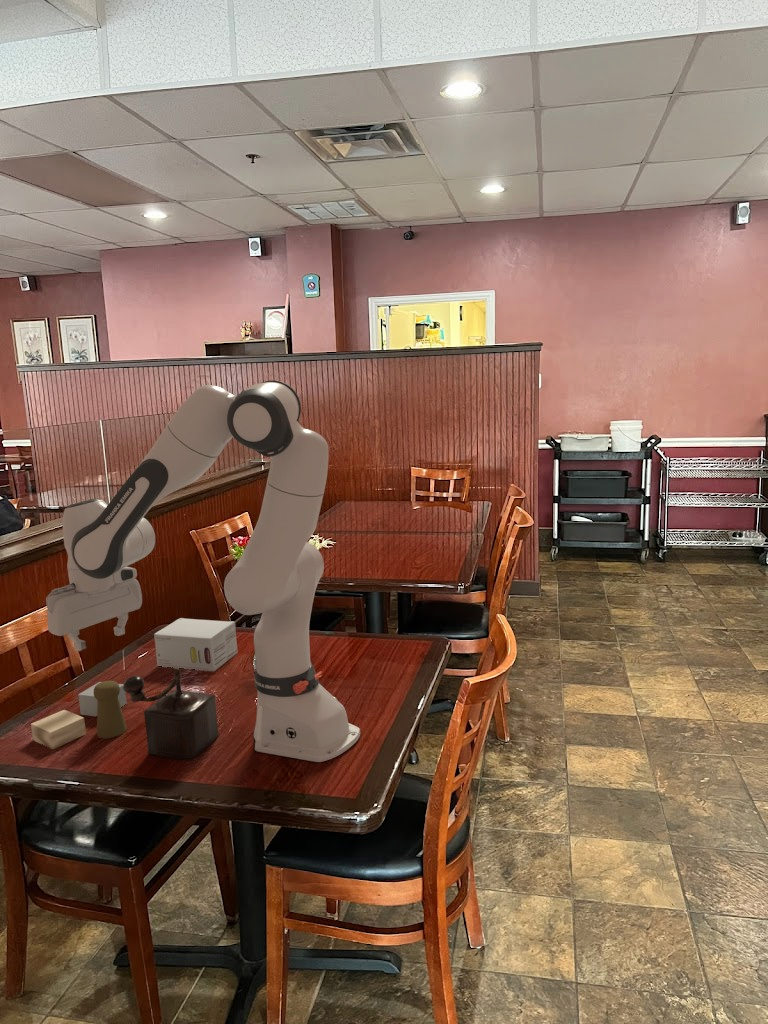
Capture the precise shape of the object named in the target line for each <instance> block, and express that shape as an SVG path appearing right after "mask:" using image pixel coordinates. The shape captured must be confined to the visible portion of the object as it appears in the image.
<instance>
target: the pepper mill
mask: <svg viewBox="0 0 768 1024" xmlns="http://www.w3.org/2000/svg"><path fill="white" fill-rule="evenodd" d="M173 673H174V676H173V680H172V682H170V684H169V685H168V687H166V688H165V689H164V690H163V691H161V692H160V693H159V694H156V695H154V696H146V693H145V692H144V691H143V688H144V686H145V680H144V678H143V677H142V676H138V675H133V676H130V677H128V678H127V679H125V680H124V682H123V684H124V686H123V689H124V691H125V693H128V694H129V695H130V698H129V701H131V702H132V703H135V702H137V703H138V702H149V703H150V702H154V703H153V704H151V705H150V706H148V708H146V709H144V710H143V714H144V715H143V716H144V722H145V733H146V741H147V754H150V755H153V756H156V757H158V758H159V757H161V758H165V759H172V760H173V759H174V760H179V761H180V760H181V761H192V760H194V759H195V758H197V757H198V756H199V755H200V754H201V753H203V752H204V751H205V750H206V749H207V748H208V747H209V746H210V745H211V744H212V743H213V742H215V740H216V739H217V738H218V737H219V733H220V732H219V728H218V727H219V726H218V717H217V704H216V696H215V694H213V693H212V694H210V693H204V692H203V693H202V692H194V691H187V690H182V687H181V685H182V684H181V680H182V674H181V673H182V672H181V669H179V668H174V670H173ZM175 687H176V688H175ZM174 688H175V689H174ZM171 690H172V691H171Z"/></svg>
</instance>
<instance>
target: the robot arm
mask: <svg viewBox="0 0 768 1024" xmlns="http://www.w3.org/2000/svg"><path fill="white" fill-rule="evenodd" d="M301 410H302V405H301V400H300V398H299V394H298V393H297V392H296V390H295V389H294V388H293V387H292V386H290V385H289V384H288V383H285V382H283V381H280V380H273V379H272V380H265V381H262V382H258V383H255V384H253V385H250V386H249V387H246V389H244V390H241V392H240V393H238V394H237V395H236V394H232V393H231V392H229V391H228V390H227V389H225V388H222V387H220V386H217V385H214V384H206V385H205V384H204V385H201V386H200V387H198V388H196V389H195V390H194V391H193V393H191V394H190V395H189V396H188V397H187V398H186V400H184V401H183V403H182V404H181V405H180V406H179V408H178V409H177V410H176V411H175V412H174V414H173V415H172V417H171V418H170V420H169V421H168V423H167V424H166V426H165V427H164V428H163V430H162V432H161V433H160V434H159V436H158V438H157V439H156V441H155V442H154V444H153V445H152V447H151V448H150V450H149V451H148V453H146V455H145V457H144V458H143V459H142V461H141V462H140V463H139V464H138V466H137V467H136V469H135V470H134V471H133V472H132V474H130V476H129V477H128V478H127V480H125V482H123V485H121V487H120V488H119V489H118V491H117V492H116V494H115V495H114V496H113V497H112V499H111V500H110V502H109V503H107V502H106V501H104V500H103V499H101V498H90V499H87V500H86V499H85V500H82V501H78V502H75V503H71V504H70V505H68V506H67V507H66V508H65V509H64V510H63V513H62V535H63V537H62V538H63V544H64V549H65V551H66V553H67V556H68V558H67V565H66V567H67V574H68V581H69V584H67V585H64V586H61V587H57V588H54V589H51V592H50V593H49V594H48V595H47V596H46V597H45V603H46V608H47V612H46V613H47V614H46V616H47V618H46V619H47V620H46V622H47V630H48V632H49V633H51V634H52V635H55V636H59V637H63V636H65V635H66V636H67V637H68V638H69V639H70V640H71V642H73V646H74V647H73V649H74V650H75V651H77V652H81V651H83V650H85V649H87V645H86V644H87V643H86V640H83V639H80V637H79V635H80V630H82V629H86V628H88V627H91V626H93V625H94V626H95V625H96V624H101V623H102V622H105V621H109V620H111V619H114V618H117V619H118V620H117V623H116V626H114V627H113V631H114V632H113V633H114V635H115V636H117V637H119V636H123V635H125V634H126V628H125V627H126V624H127V621H128V619H129V613H131V612H134V611H137V610H139V609H141V607H142V604H143V594H142V590H141V585H140V582H139V580H137V579H136V578H137V576H138V572H137V568H134V567H130V566H131V565H133V564H135V563H136V562H139V561H140V560H143V559H144V558H145V557H147V556H148V555H149V554H151V553H152V552H153V551H154V549H155V546H156V543H157V542H156V541H157V537H156V532H155V529H154V526H153V525H152V523H151V522H150V521H149V519H147V518H146V517H145V516H146V515H147V513H148V512H149V511H150V510H151V509H152V507H153V506H154V505H156V504H157V503H158V502H159V501H161V500H162V499H164V498H165V497H167V496H168V495H170V494H172V493H174V492H176V491H178V490H180V489H183V488H184V487H186V486H188V485H191V484H192V483H194V482H196V481H198V480H199V479H200V478H201V477H202V476H203V475H204V474H205V473H206V472H207V471H208V470H209V469H210V468H211V467H212V466H213V465H214V463H215V462H216V461H217V459H218V458H219V456H220V454H221V453H222V451H223V450H224V449H225V447H226V446H227V444H228V443H230V441H231V440H232V439H233V438H234V439H235V440H236V442H238V443H240V444H241V445H243V446H244V447H247V448H248V449H250V450H254V451H256V452H257V453H259V454H260V455H262V456H264V457H266V458H270V465H269V469H268V470H269V471H268V475H267V480H266V485H265V489H264V494H263V499H262V503H261V508H260V512H259V517H258V520H257V521H256V524H255V527H254V529H253V531H252V534H251V536H250V537H249V540H248V542H247V544H246V546H245V548H244V550H243V552H242V554H241V556H240V557H239V559H238V561H237V562H236V564H235V565H234V566H233V567H232V568H231V570H229V572H228V573H227V575H226V576H225V578H224V582H223V583H224V584H223V585H224V586H223V589H224V590H223V591H224V595H225V598H226V600H227V602H228V604H229V605H230V606H231V607H232V609H234V611H236V612H237V613H239V614H241V615H244V616H245V615H246V616H252V615H259V614H261V617H260V619H259V620H258V621H259V622H258V623H257V625H256V627H255V629H254V633H253V645H254V656H255V669H254V680H253V681H254V684H255V686H254V687H255V689H256V690H257V701H256V702H257V704H256V721H255V727H254V732H253V739H254V741H255V742H254V750H255V751H256V752H258V753H264V754H270V755H275V756H280V757H281V756H282V757H286V758H291V759H292V758H293V759H298V760H304V761H309V762H314V763H322V762H325V761H328V760H332V759H334V758H336V757H338V756H340V755H341V754H343V753H344V752H346V751H348V750H349V749H350V748H351V747H352V746H354V744H356V743H357V742H358V740H359V739H360V736H361V729H360V728H359V727H358V726H356V725H354V724H352V723H349V720H348V719H349V718H348V715H347V711H346V708H345V706H344V705H343V704H342V703H341V702H340V701H339V700H338V699H337V697H335V696H333V695H332V694H331V693H330V692H329V691H328V690H326V688H325V687H324V686H323V685H321V683H320V680H319V679H321V678H322V677H323V675H321V674H322V673H323V671H319V672H316V669H315V667H314V665H313V663H312V662H311V650H310V621H311V614H312V609H313V604H314V598H315V593H316V589H317V587H318V585H319V582H320V580H321V578H322V576H323V573H324V570H325V563H324V562H325V561H324V558H323V555H322V553H321V551H320V550H319V549H318V548H317V547H316V546H315V545H314V544H312V543H310V542H308V541H309V540H310V538H311V537H312V535H313V534H314V532H315V531H316V529H317V524H318V522H319V521H318V520H319V516H320V512H321V508H322V503H323V500H324V499H323V498H324V493H325V489H326V484H327V478H328V468H329V458H330V457H329V451H330V450H329V445H328V441H327V440H326V439H325V438H324V437H323V436H322V434H320V433H318V432H317V431H314V430H313V429H312V430H311V429H308V428H307V429H306V428H305V427H303V426H302V425H301V424H300V423H299V419H300V417H301V413H302V411H301Z"/></svg>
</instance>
